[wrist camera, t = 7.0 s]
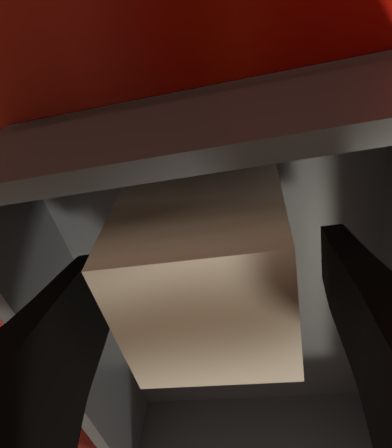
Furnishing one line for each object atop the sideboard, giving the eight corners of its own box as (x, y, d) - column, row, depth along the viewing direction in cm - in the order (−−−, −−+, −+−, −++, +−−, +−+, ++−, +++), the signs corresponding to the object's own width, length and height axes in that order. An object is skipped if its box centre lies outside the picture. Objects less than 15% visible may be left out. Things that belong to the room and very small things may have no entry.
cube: (283, 266, 15) (304, 381, 11) (163, 278, 16) (140, 389, 12) (273, 151, 12) (295, 249, 8) (127, 174, 13) (81, 271, 9)
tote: (371, 381, 20) (407, 485, 16) (143, 392, 23) (125, 486, 19) (404, 47, 11) (506, 98, 7) (7, 125, 13) (-91, 197, 9)
